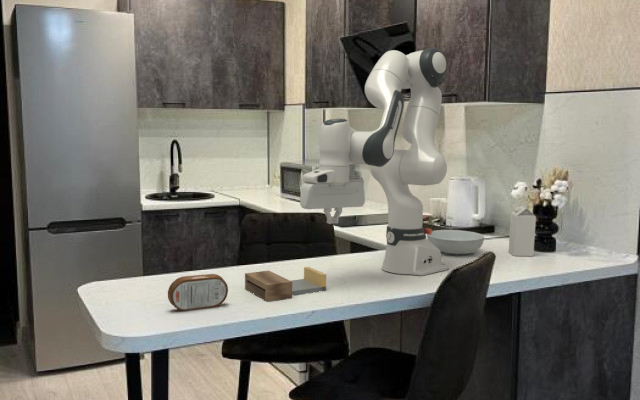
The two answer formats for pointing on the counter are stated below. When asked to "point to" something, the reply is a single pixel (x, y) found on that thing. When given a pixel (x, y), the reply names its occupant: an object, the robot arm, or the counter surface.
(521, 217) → the milk carton
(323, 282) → the grey board with lip
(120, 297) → the counter surface
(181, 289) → the tin
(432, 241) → the serving bowl
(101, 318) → the counter surface
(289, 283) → the overhang shelf
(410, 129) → the robot arm
